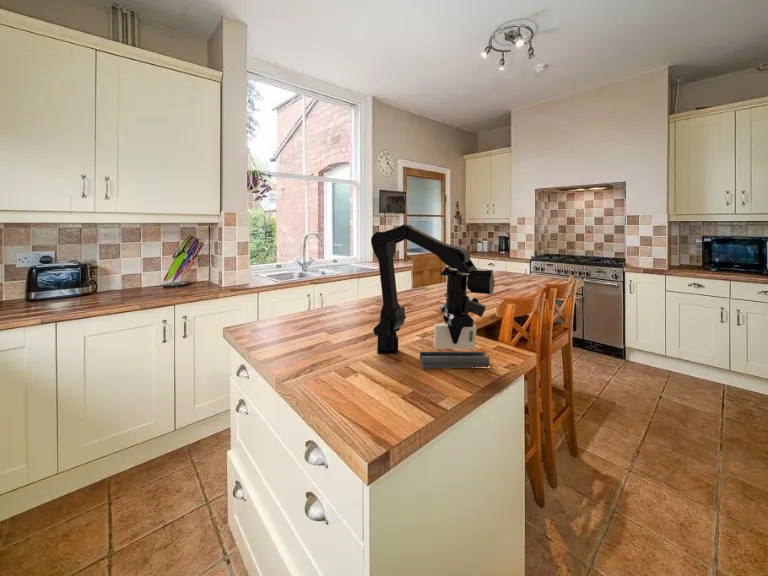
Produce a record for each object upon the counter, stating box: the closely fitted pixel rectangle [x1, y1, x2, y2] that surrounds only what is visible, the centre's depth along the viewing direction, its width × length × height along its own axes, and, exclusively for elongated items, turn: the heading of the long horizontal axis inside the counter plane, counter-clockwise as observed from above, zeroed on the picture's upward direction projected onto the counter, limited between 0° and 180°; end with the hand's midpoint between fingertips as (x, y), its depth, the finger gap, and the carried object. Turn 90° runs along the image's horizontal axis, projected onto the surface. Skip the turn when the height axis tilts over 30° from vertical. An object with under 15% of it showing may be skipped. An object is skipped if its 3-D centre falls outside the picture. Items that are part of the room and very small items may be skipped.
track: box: [419, 350, 492, 370], centre depth 108 cm, size 20×8×3 cm, turn 91°
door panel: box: [433, 323, 477, 350], centre depth 107 cm, size 12×3×7 cm, turn 91°
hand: (454, 342), depth 107 cm, fingers closed on door panel, 2 cm apart
